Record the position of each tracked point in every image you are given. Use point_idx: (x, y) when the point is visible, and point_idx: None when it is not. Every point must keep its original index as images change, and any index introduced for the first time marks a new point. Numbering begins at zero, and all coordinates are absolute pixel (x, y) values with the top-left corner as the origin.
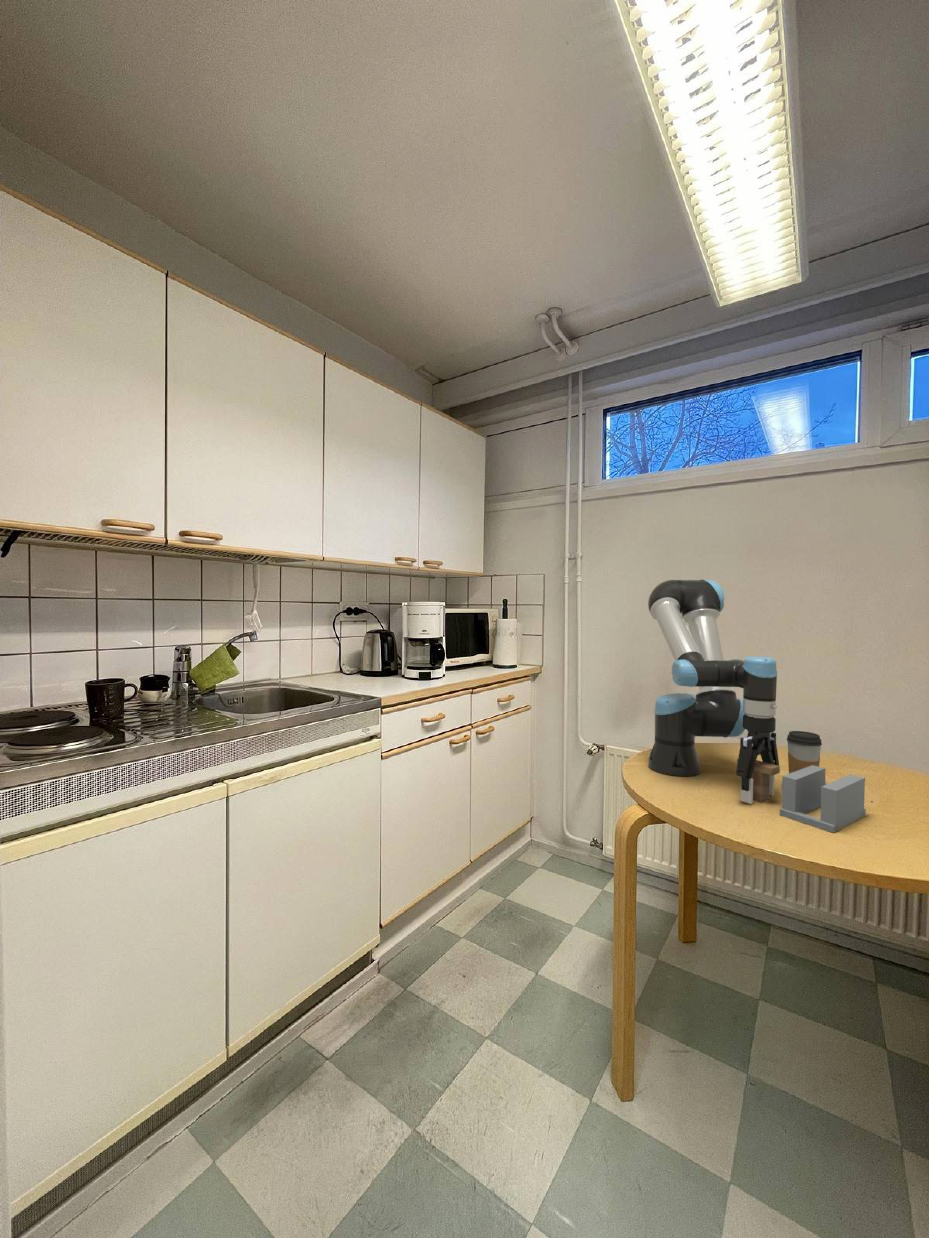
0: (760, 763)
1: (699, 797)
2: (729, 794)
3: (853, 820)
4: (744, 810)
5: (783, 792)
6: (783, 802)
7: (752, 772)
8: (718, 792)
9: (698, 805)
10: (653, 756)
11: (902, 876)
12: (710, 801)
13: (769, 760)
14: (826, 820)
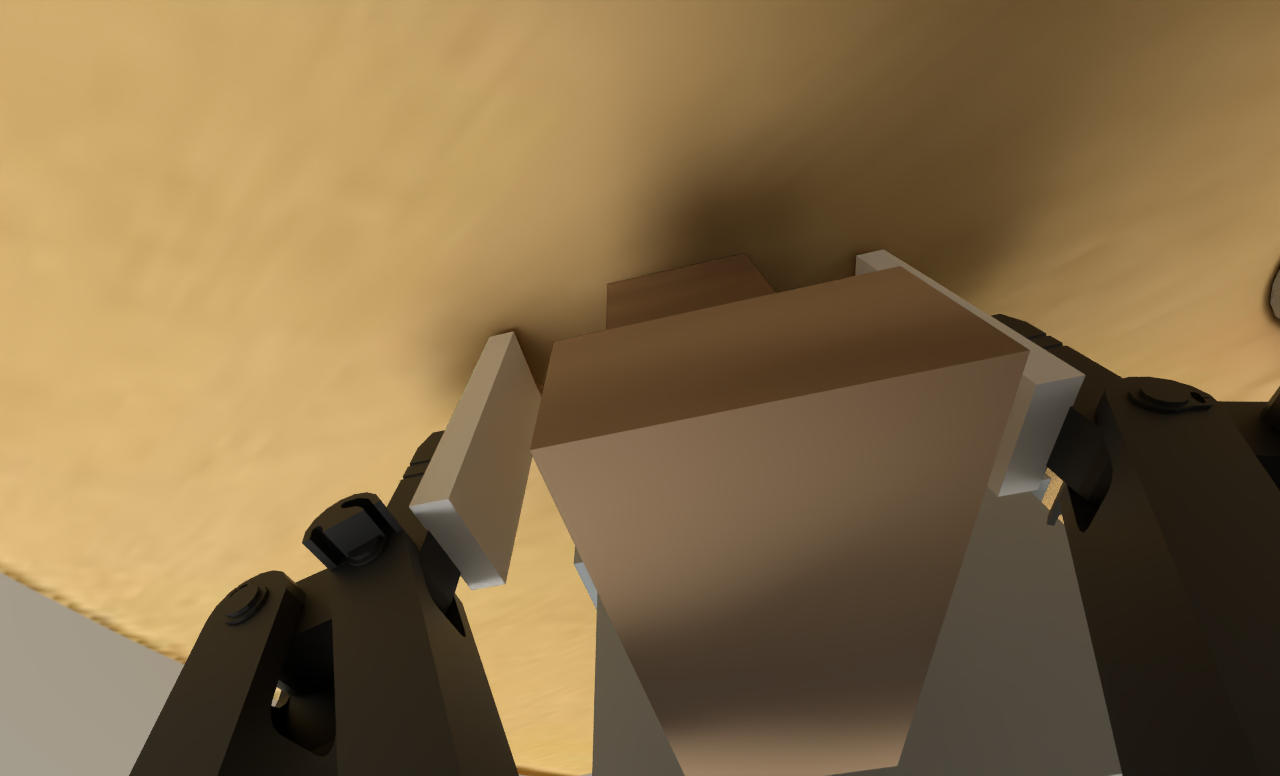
0: (772, 695)
1: (83, 96)
2: (520, 152)
3: None
4: (404, 445)
5: (598, 673)
6: (600, 601)
7: (480, 660)
8: (430, 43)
9: (10, 275)
10: None
11: (551, 770)
12: (188, 237)
13: (1109, 655)
14: None
